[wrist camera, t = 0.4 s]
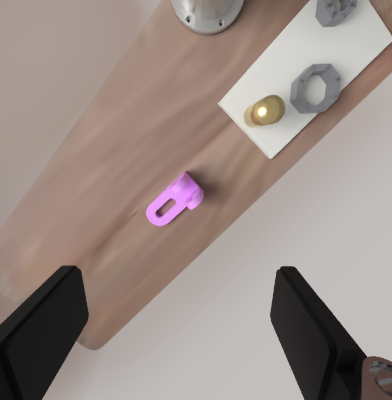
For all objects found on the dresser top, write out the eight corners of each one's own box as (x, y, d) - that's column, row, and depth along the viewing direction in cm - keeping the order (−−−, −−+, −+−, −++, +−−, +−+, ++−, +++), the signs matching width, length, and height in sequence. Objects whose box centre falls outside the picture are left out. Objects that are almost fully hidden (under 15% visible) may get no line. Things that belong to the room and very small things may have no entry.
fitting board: (217, 104, 39) (220, 100, 35) (339, -33, 33) (356, -53, 30) (269, 158, 42) (276, 160, 38) (388, 42, 36) (408, 32, 33)
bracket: (185, 171, 42) (183, 177, 36) (202, 189, 44) (204, 199, 37) (142, 210, 45) (133, 223, 38) (160, 227, 46) (155, 242, 39)
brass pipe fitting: (240, 110, 38) (254, 102, 29) (260, 100, 38) (280, 89, 29) (247, 131, 39) (263, 128, 30) (267, 121, 39) (288, 116, 30)
